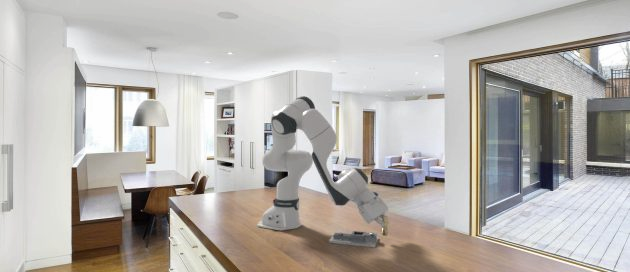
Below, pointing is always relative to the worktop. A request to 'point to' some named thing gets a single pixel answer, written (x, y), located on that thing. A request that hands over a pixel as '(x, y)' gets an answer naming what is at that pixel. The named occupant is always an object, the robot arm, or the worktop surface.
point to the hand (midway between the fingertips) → (386, 225)
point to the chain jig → (355, 238)
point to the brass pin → (385, 228)
